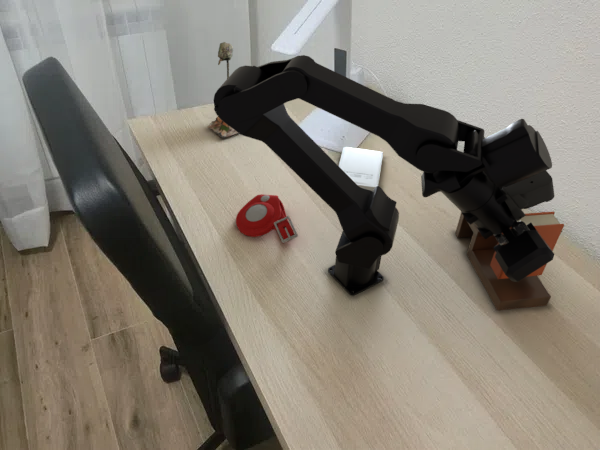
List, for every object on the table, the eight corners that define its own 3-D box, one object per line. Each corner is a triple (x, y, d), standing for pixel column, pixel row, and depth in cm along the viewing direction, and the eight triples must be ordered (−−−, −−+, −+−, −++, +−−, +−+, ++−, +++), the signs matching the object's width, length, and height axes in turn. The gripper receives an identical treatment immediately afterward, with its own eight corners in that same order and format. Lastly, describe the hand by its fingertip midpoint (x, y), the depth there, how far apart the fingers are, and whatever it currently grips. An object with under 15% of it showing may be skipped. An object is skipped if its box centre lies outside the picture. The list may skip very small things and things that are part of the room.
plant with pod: (264, 127, 120) (263, 37, 107) (218, 142, 115) (211, 49, 102) (245, 111, 125) (241, 24, 112) (200, 125, 120) (191, 35, 107)
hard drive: (382, 158, 112) (376, 194, 103) (342, 152, 113) (333, 188, 104) (383, 151, 111) (377, 187, 102) (343, 146, 112) (334, 181, 103)
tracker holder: (225, 229, 92) (246, 185, 98) (234, 245, 95) (254, 202, 101) (291, 235, 87) (309, 188, 93) (298, 252, 91) (315, 206, 96)
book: (498, 279, 82) (517, 228, 76) (489, 265, 84) (508, 214, 78) (541, 275, 83) (564, 224, 77) (532, 261, 85) (554, 211, 79)
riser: (497, 310, 82) (508, 282, 78) (454, 233, 95) (462, 206, 91) (546, 305, 83) (560, 277, 79) (498, 229, 96) (507, 202, 92)
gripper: (565, 199, 62) (615, 261, 71) (496, 116, 76) (545, 176, 85) (482, 255, 66) (538, 307, 75) (431, 166, 80) (484, 219, 89)
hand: (527, 247), depth 81 cm, fingers closed on book, 3 cm apart
